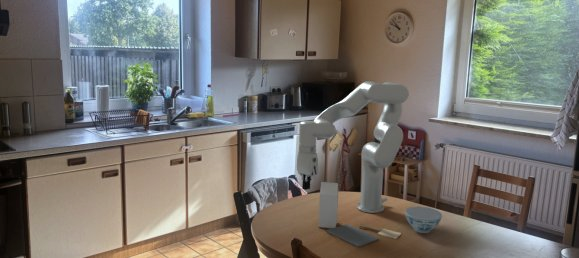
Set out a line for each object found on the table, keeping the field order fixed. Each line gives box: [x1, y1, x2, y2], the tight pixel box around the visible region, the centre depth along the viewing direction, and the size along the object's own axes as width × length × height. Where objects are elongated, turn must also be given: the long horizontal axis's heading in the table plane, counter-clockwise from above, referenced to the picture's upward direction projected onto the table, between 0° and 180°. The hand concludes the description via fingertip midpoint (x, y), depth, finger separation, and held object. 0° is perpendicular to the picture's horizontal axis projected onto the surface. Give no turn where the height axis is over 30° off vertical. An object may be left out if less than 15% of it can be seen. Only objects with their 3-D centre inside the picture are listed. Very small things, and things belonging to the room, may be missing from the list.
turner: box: [358, 224, 402, 240], centre depth 204 cm, size 6×17×1 cm, turn 58°
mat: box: [326, 223, 380, 248], centre depth 200 cm, size 12×18×1 cm, turn 38°
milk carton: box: [318, 181, 339, 229], centre depth 209 cm, size 7×7×19 cm
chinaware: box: [404, 205, 443, 234], centre depth 207 cm, size 15×15×8 cm
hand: (306, 188), depth 220 cm, fingers closed
